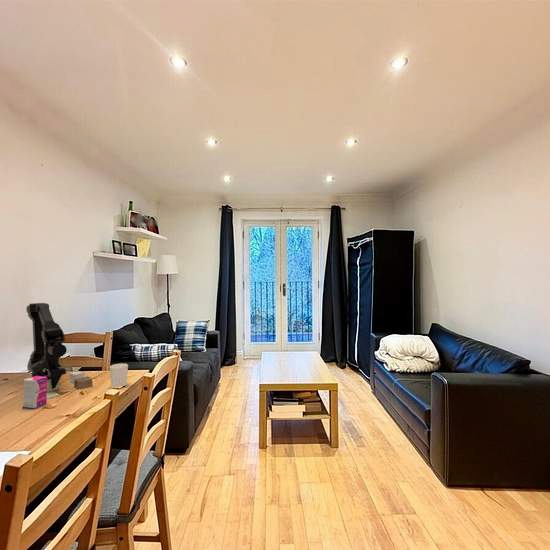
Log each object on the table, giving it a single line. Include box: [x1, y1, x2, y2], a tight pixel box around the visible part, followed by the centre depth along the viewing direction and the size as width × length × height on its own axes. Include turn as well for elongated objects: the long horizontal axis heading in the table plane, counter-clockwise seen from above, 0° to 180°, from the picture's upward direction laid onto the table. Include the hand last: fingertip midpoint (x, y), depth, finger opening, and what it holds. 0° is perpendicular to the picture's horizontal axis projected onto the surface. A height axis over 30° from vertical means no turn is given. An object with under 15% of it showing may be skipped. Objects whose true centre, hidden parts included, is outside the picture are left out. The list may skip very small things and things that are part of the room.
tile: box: [47, 391, 61, 400], centre depth 145 cm, size 7×7×1 cm
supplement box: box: [22, 376, 48, 410], centre depth 134 cm, size 6×6×12 cm
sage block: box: [47, 379, 60, 393], centre depth 154 cm, size 4×4×4 cm
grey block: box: [69, 371, 85, 384], centre depth 165 cm, size 4×4×4 cm
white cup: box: [109, 363, 129, 387], centre depth 158 cm, size 8×8×10 cm
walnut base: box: [73, 376, 93, 391], centre depth 158 cm, size 6×6×4 cm
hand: (51, 387), depth 154 cm, fingers closed on sage block, 4 cm apart
